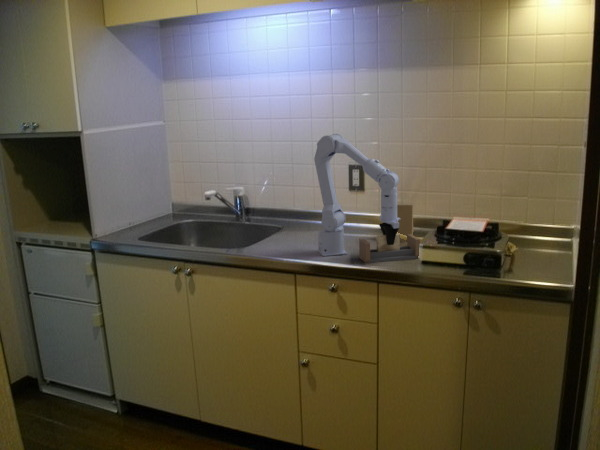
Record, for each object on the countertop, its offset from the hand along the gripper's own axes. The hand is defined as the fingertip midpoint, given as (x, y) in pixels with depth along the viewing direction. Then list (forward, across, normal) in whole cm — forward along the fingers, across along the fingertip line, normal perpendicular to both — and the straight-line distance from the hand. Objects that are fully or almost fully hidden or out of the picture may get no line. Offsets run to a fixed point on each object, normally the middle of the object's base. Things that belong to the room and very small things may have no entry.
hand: (389, 243), depth 205 cm
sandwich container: (+6, +28, -16) cm, 33 cm away
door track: (+5, 0, 0) cm, 5 cm away
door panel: (+3, 0, 0) cm, 3 cm away
